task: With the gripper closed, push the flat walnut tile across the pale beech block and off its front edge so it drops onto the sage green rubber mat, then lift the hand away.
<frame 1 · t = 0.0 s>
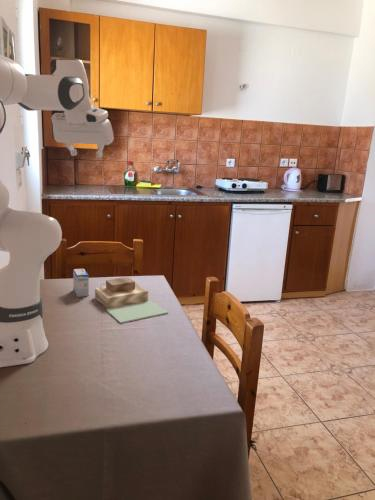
hand: (86, 155, 137), 52 cm above the table, tool tilted 20°, fingers open, 8 cm apart
walnut tile: (120, 288, 154), point 4 cm above the table, touching beech block
beech block: (121, 299, 154), on the table
sage green mat: (137, 311, 144), on the table
medicine box: (81, 293, 159), on the table
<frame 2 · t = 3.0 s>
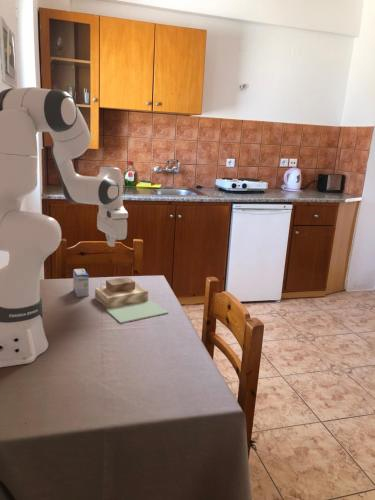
hand: (111, 245, 158), 18 cm above the table, tool pointing down, fingers closed
nothing on the table moved.
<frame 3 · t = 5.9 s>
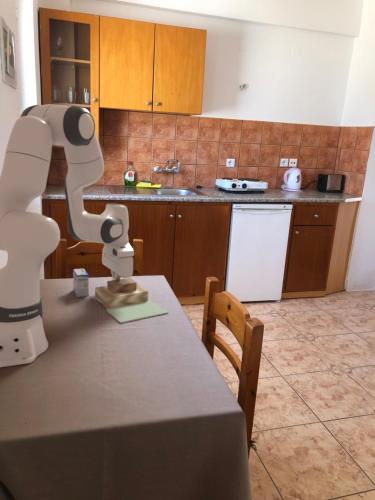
hand: (116, 282, 156), 5 cm above the table, tool pointing down, fingers closed
walnut tile: (121, 289, 153), point 4 cm above the table, touching gripper
everything else where it was.
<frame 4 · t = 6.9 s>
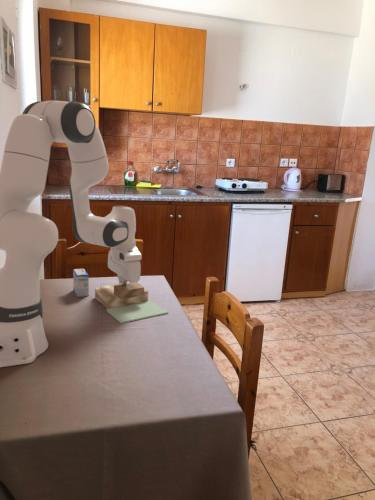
hand: (122, 286, 152), 6 cm above the table, tool pointing down, fingers closed
walnut tile: (128, 294, 149), point 4 cm above the table, touching gripper
everything else where it was.
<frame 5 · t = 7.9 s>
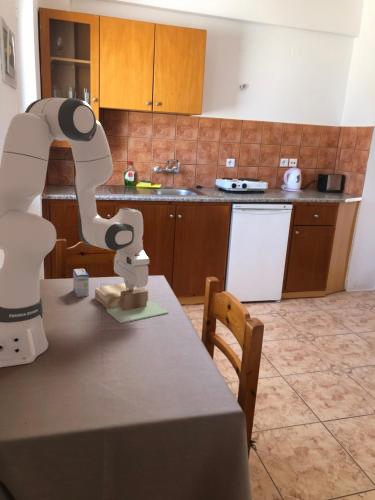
hand: (129, 291, 147), 6 cm above the table, tool pointing down, fingers closed
walnut tile: (131, 297, 147), point 4 cm above the table, tilted 96°, touching gripper, sage green mat
everything else where it was.
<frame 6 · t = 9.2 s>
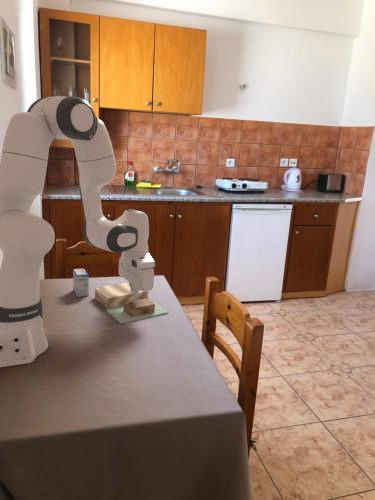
hand: (134, 294, 144), 6 cm above the table, tool pointing down, fingers closed
walnut tile: (139, 303, 142), point 3 cm above the table, tilted 180°, touching sage green mat
everything else where it was.
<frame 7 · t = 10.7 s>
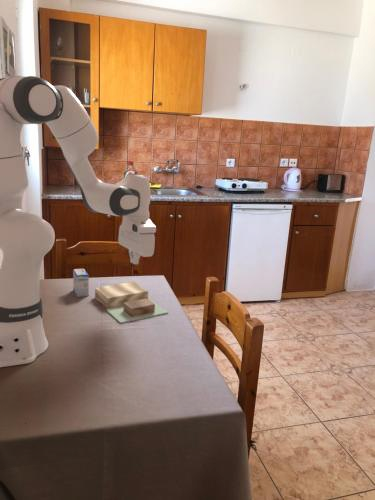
hand: (134, 263, 141), 17 cm above the table, tool pointing down, fingers closed
nothing on the table moved.
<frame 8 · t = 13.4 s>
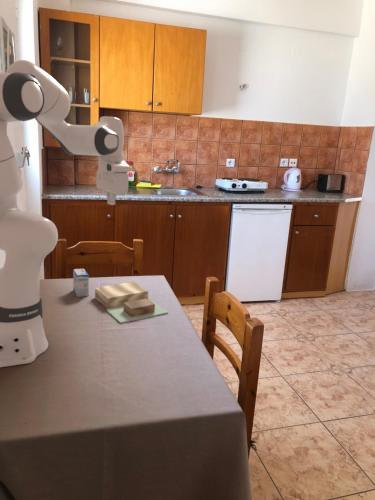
hand: (111, 204, 148), 35 cm above the table, tool pointing down, fingers closed
nothing on the table moved.
at the end: walnut tile inside the target area (0.3 cm from its centre), point 3.5 cm above the table; walnut tile touching sage green mat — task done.
